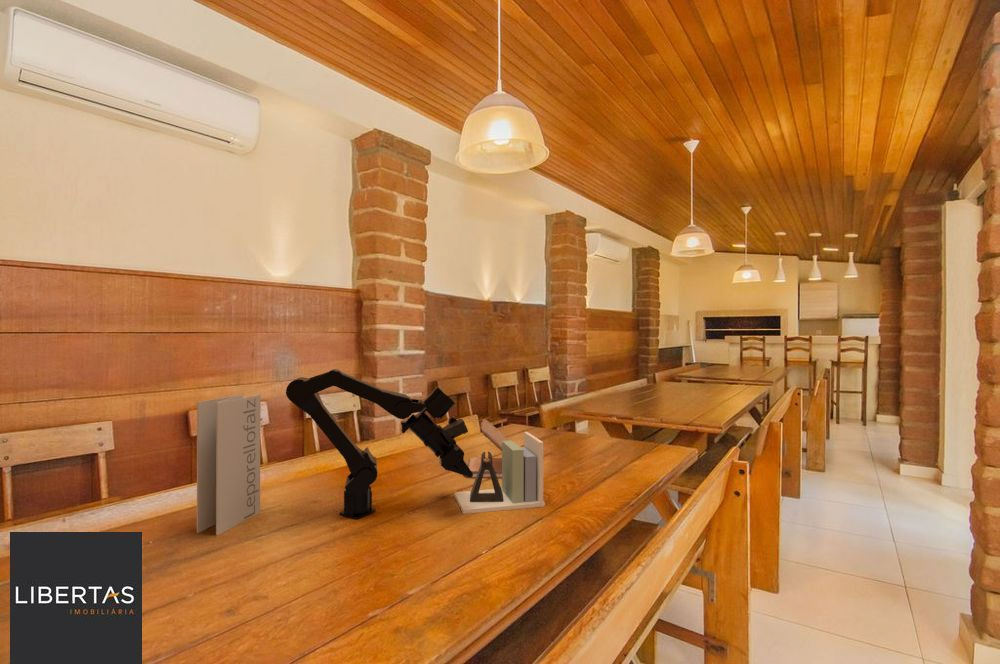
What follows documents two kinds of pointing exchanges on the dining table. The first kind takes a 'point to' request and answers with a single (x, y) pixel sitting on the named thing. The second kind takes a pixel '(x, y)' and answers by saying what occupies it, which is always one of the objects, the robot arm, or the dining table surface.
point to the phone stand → (475, 494)
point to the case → (475, 463)
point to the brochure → (228, 461)
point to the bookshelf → (514, 479)
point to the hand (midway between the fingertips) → (468, 471)
